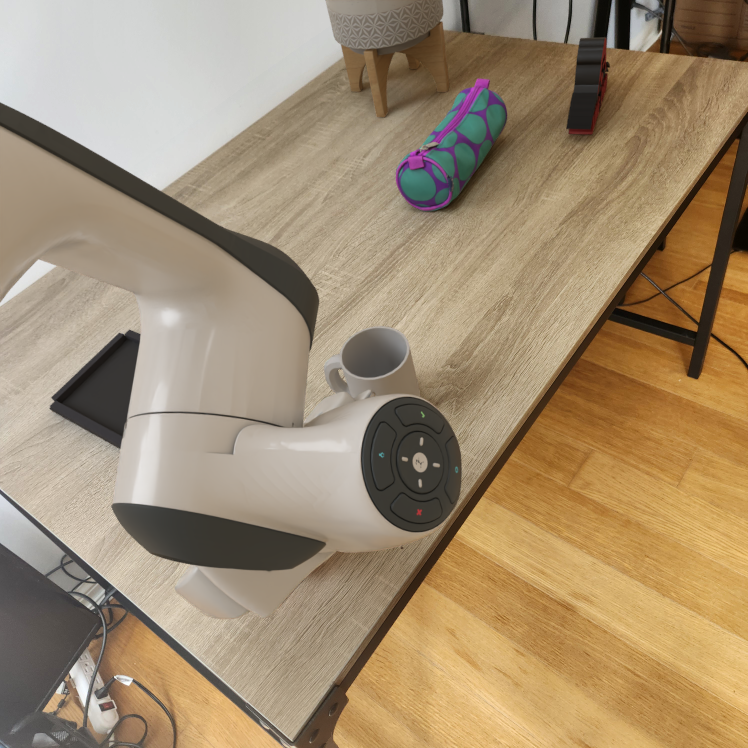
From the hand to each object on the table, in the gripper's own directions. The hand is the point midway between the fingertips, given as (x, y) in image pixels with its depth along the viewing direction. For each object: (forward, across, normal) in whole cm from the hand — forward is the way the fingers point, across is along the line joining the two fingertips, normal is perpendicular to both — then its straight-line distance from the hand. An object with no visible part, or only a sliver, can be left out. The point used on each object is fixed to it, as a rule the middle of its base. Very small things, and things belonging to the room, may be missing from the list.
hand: (251, 502), depth 58 cm
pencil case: (+13, -60, -3) cm, 62 cm away
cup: (+5, -18, +5) cm, 20 cm away
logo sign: (+4, -81, +5) cm, 82 cm away
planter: (+29, -81, -20) cm, 89 cm away
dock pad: (+25, -7, -15) cm, 30 cm away
